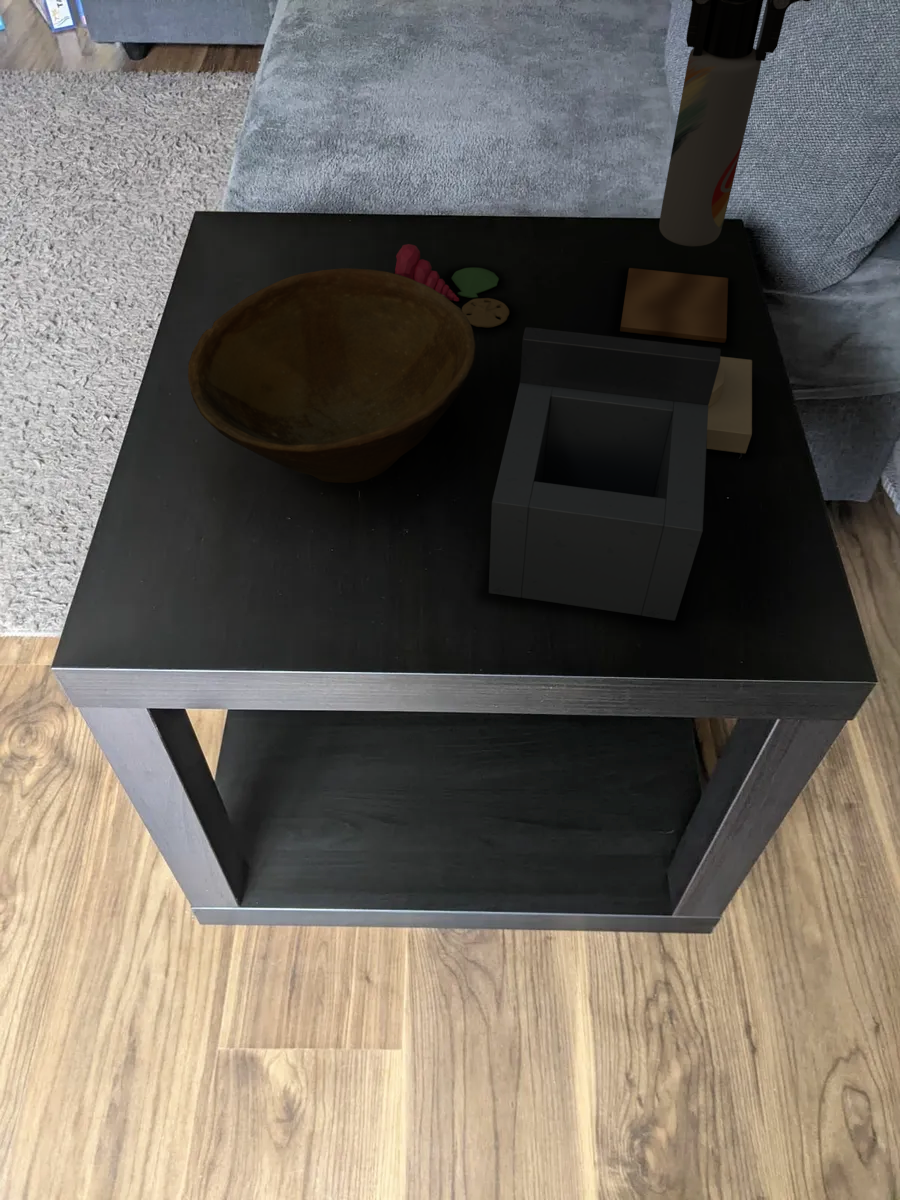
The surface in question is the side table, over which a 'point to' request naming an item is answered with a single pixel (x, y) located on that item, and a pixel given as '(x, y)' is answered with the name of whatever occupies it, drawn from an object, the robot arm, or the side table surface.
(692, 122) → the spray bottle
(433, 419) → the bowl
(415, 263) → the toy pieces
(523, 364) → the dark grey square holder
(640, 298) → the coaster
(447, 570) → the side table surface
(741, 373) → the control box
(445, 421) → the side table surface
